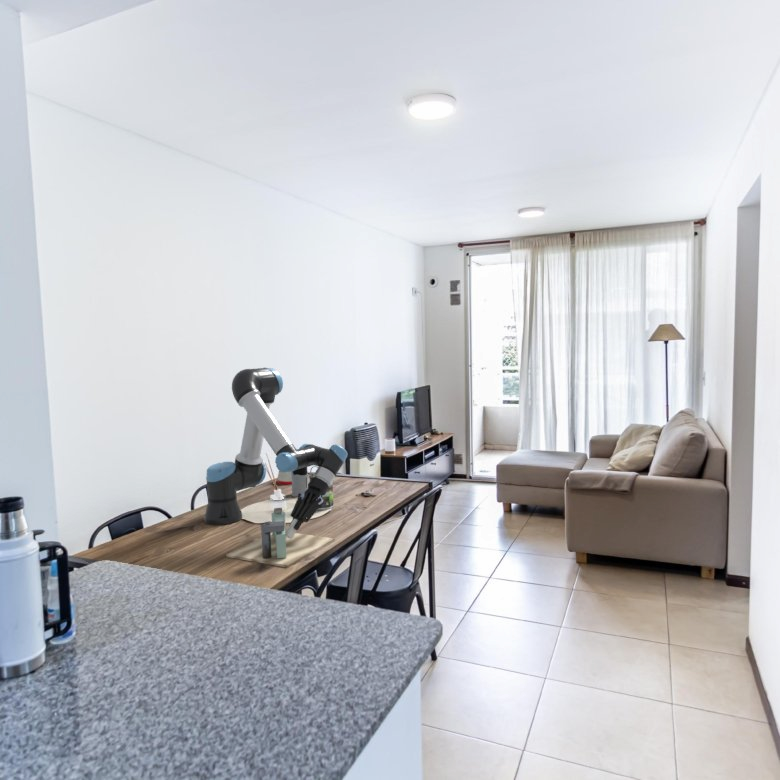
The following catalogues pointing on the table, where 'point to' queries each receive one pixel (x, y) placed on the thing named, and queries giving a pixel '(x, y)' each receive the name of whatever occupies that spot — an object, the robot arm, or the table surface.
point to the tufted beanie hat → (284, 478)
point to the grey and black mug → (300, 481)
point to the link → (280, 535)
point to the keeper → (269, 536)
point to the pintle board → (295, 549)
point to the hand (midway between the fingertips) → (288, 536)
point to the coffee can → (326, 497)
